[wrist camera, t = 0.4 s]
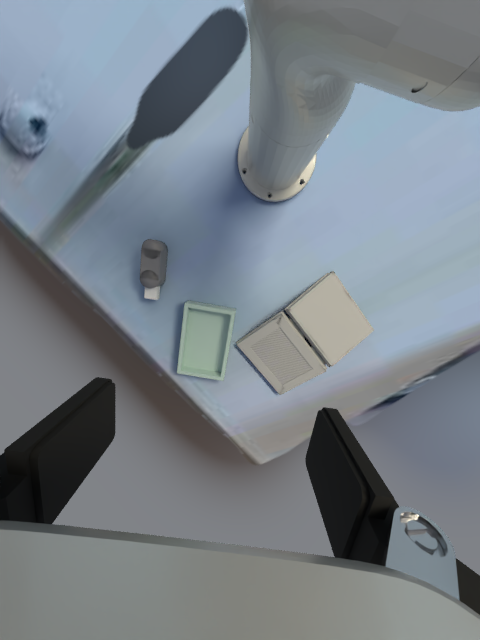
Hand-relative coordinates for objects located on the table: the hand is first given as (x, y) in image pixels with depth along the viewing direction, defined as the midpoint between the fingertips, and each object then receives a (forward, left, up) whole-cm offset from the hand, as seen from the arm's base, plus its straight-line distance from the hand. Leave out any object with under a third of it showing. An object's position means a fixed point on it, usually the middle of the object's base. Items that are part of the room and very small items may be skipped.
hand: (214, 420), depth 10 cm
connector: (-3, -15, -34) cm, 37 cm away
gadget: (+5, +15, -35) cm, 38 cm away
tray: (+9, -4, -34) cm, 35 cm away
